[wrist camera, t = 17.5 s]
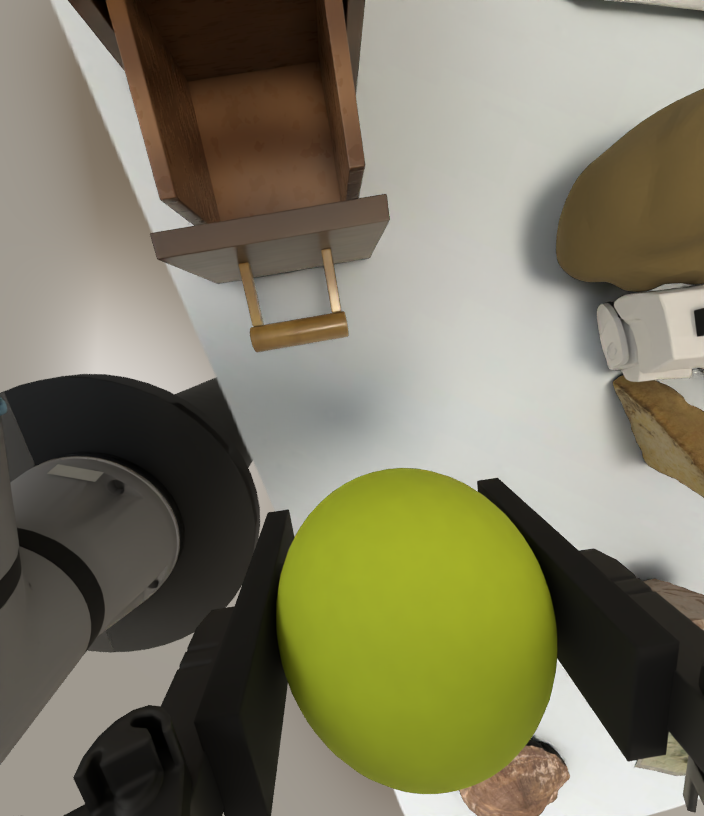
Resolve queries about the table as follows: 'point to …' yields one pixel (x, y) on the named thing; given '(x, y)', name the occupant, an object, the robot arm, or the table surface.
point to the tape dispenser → (654, 333)
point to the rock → (665, 430)
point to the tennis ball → (416, 631)
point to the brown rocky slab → (520, 784)
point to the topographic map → (667, 760)
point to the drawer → (252, 143)
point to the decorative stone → (641, 205)
